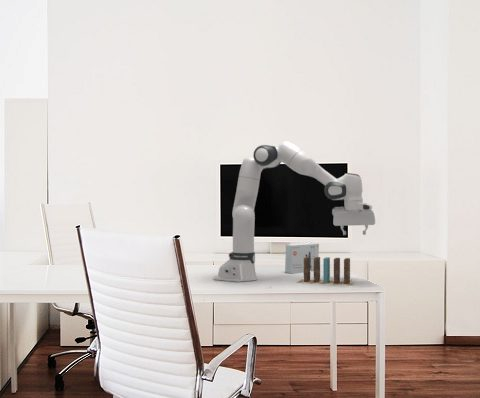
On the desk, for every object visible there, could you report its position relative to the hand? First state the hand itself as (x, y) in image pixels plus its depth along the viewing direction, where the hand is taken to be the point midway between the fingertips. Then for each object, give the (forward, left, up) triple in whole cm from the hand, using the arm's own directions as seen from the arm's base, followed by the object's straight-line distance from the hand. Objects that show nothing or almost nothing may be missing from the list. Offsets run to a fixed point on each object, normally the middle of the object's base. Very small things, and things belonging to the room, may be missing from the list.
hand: (354, 234), depth 311 cm
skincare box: (-36, +39, -25) cm, 58 cm away
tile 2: (-9, 0, -24) cm, 25 cm away
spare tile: (-14, 0, -24) cm, 28 cm away
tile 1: (-4, 0, -24) cm, 24 cm away
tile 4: (-19, 0, -24) cm, 30 cm away
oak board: (-14, 0, -25) cm, 28 cm away
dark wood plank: (-24, 0, -24) cm, 34 cm away
